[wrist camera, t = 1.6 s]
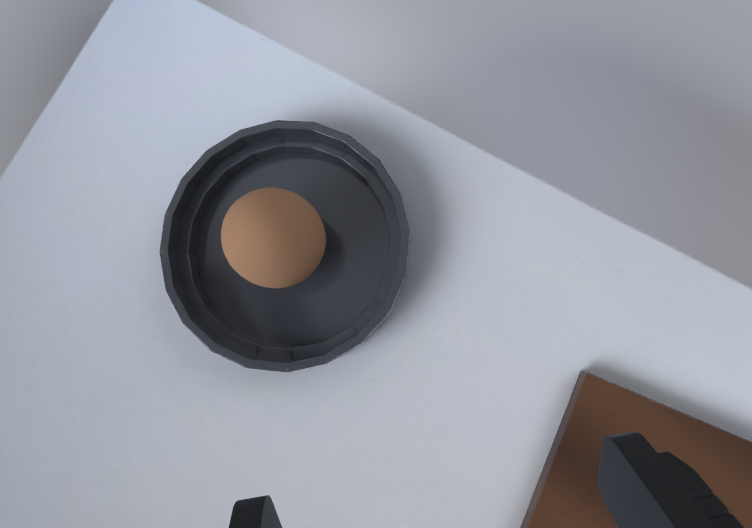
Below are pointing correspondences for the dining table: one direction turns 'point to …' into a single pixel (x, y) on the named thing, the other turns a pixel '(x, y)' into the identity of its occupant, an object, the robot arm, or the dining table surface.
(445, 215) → the dining table surface
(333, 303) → the pan
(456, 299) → the dining table surface
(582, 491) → the board
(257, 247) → the egg
